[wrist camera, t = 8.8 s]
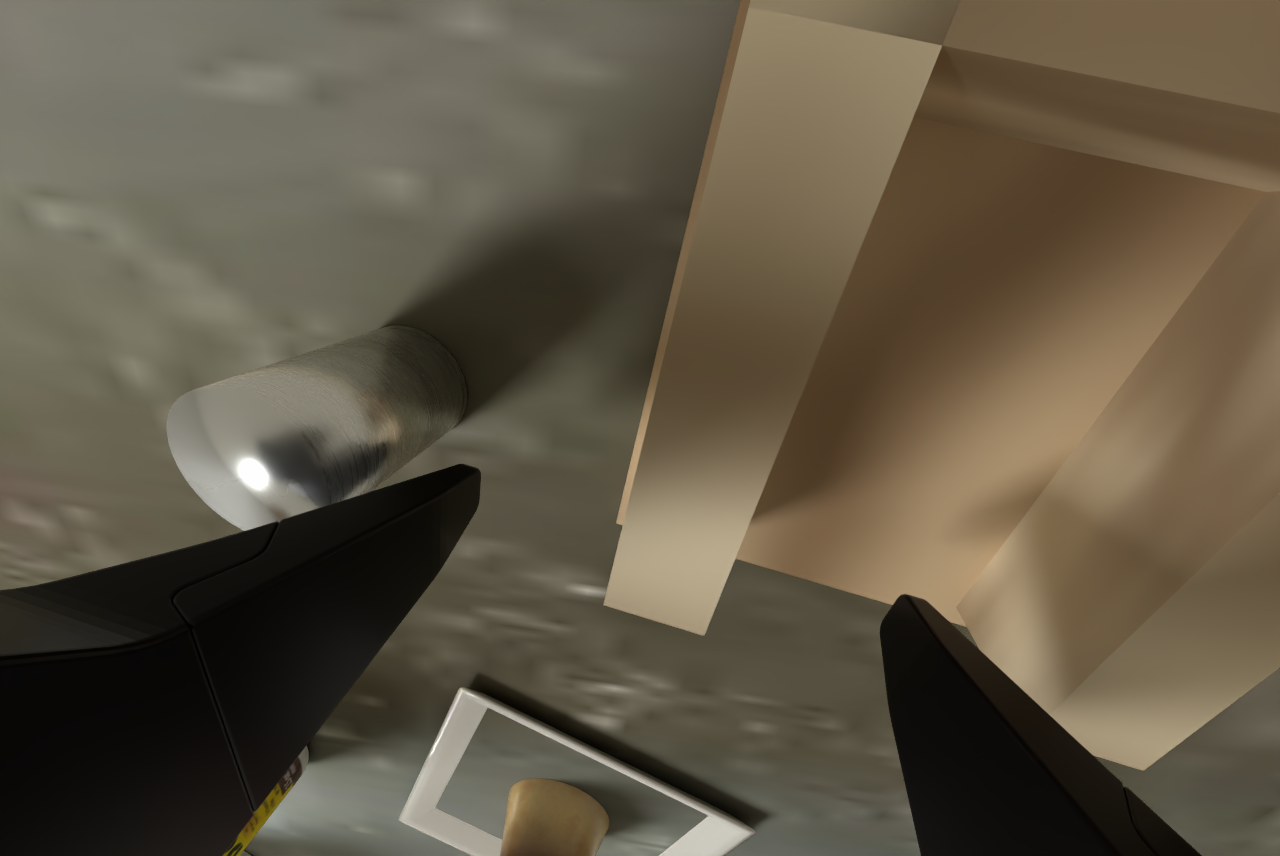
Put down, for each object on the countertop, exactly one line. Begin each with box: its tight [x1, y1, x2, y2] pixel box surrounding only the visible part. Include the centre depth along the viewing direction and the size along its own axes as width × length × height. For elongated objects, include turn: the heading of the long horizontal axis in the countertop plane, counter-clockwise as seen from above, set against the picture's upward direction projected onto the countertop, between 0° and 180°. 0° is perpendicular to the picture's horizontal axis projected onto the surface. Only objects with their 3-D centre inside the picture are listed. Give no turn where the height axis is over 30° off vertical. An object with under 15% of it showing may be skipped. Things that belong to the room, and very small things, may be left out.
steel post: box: [167, 325, 467, 531], centre depth 10 cm, size 3×3×4 cm
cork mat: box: [616, 0, 1265, 627], centre depth 9 cm, size 11×12×1 cm
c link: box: [604, 0, 1280, 771], centre depth 7 cm, size 11×10×3 cm
